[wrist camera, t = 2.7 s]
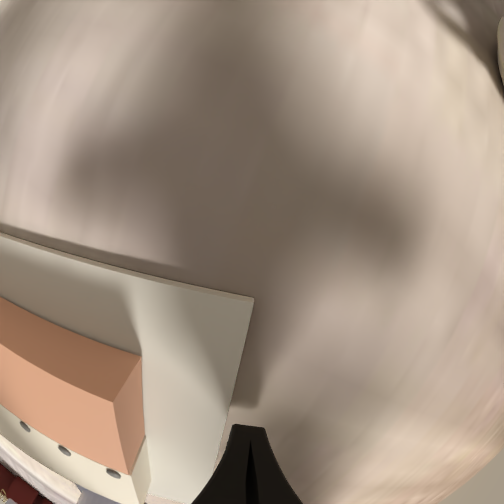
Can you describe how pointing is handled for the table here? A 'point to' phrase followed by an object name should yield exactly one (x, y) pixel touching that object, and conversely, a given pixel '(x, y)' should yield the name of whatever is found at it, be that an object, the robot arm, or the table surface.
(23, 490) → the toy houses
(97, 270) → the mat
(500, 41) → the teacup
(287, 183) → the table surface
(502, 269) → the table surface
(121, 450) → the stub
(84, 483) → the ticket book
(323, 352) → the table surface
